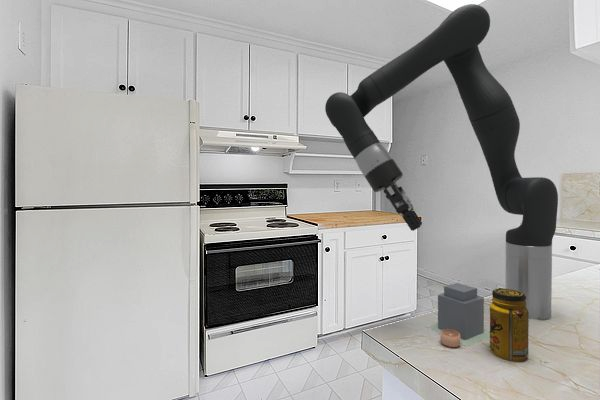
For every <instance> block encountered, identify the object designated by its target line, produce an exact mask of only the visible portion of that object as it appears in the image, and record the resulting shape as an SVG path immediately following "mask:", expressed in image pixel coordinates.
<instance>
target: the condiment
mask: <svg viewBox="0 0 600 400" xmlns="http://www.w3.org/2000/svg"><path fill="white" fill-rule="evenodd" d="M491 294H492V295H491V296H492V298H491V301H492V302H491V303H490V304H489V331H490V338H489V348H490V353H492V355H494V356H495V357H497V358H498V359H501V360H505V361H506V362H513V363H524V362H527V360H529V320H530V318H529V312H528V310H527V308H526V301H525V300H526V296H525V294H524V293H522V292H520V291H517V290H513V289H506V288H505V287H504V288H494V289H493V290H492V292H491ZM539 362H540V363H542V361H541V360H539ZM543 363H544V364H546V363H547V364H550V363H551V364H552V362H547V361H544V362H543ZM532 364H534V362H533V363H532Z"/></svg>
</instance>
